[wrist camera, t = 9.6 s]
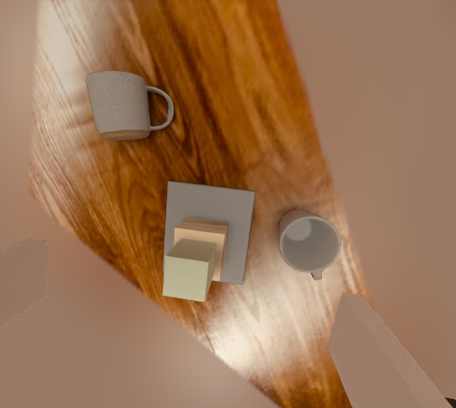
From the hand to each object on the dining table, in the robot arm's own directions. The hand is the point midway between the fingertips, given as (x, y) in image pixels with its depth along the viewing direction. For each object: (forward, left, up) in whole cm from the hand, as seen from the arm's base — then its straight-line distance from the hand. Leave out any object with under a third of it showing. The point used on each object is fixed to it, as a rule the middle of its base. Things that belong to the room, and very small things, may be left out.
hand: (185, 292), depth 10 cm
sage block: (+8, -4, -20) cm, 22 cm away
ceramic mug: (-12, -16, -28) cm, 34 cm away
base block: (+8, -4, -26) cm, 28 cm away
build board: (+7, -4, -28) cm, 29 cm away
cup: (+5, +11, -28) cm, 30 cm away
